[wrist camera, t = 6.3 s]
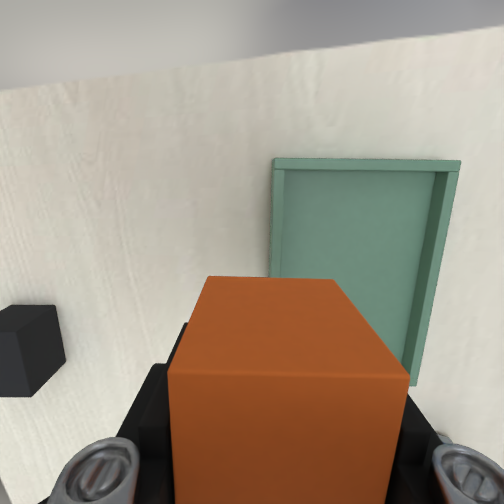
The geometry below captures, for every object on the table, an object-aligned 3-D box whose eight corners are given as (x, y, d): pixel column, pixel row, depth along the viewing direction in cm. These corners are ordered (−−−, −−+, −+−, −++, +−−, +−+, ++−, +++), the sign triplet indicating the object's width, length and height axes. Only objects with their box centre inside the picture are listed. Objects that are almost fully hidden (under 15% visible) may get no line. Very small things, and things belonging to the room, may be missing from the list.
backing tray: (272, 159, 22) (274, 157, 20) (443, 161, 22) (462, 160, 20) (265, 370, 28) (266, 385, 26) (404, 371, 28) (416, 386, 26)
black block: (10, 304, 26) (-39, 331, 21) (55, 305, 26) (15, 331, 21) (24, 361, 27) (-19, 397, 23) (66, 362, 27) (31, 397, 23)
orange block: (207, 274, 9) (165, 370, 5) (333, 278, 9) (412, 376, 5) (209, 427, 10) (180, 606, 6) (317, 430, 10) (364, 609, 6)
